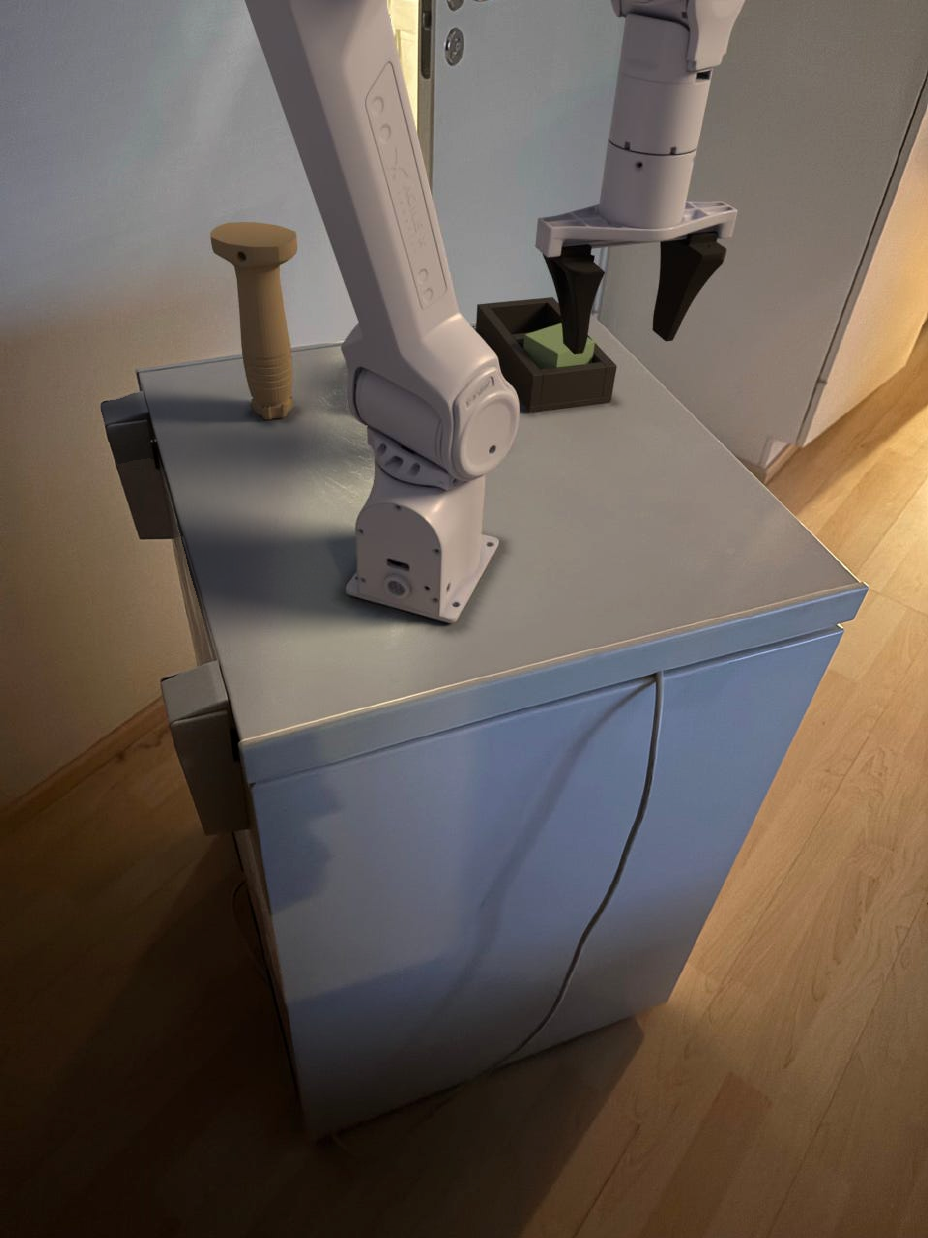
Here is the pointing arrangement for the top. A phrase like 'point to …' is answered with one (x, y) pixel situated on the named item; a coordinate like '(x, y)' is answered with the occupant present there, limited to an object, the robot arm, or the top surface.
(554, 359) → the green cube
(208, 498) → the top surface
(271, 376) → the handle
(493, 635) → the top surface
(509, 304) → the holder
